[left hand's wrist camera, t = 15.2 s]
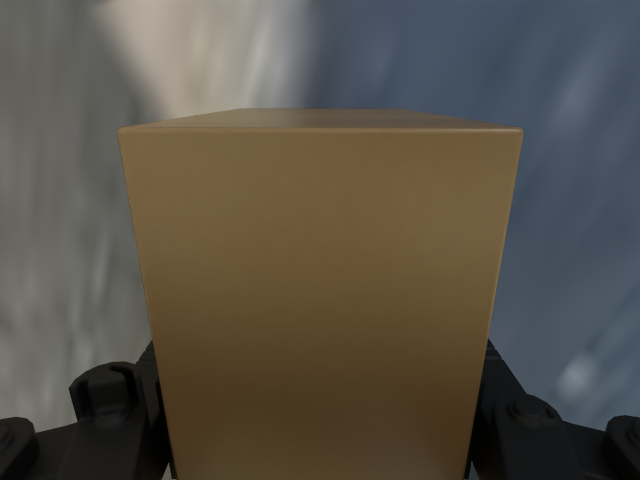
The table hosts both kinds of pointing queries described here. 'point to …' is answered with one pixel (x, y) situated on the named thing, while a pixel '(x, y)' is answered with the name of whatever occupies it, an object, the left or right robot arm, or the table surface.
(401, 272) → the plank
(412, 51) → the table surface
